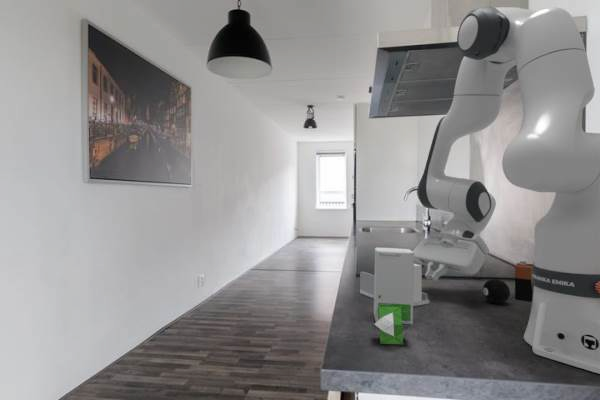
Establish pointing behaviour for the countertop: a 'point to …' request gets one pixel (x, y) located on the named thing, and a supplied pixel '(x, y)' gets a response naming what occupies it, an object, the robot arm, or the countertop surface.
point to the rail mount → (368, 288)
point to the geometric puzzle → (390, 325)
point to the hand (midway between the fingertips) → (430, 278)
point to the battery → (523, 281)
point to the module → (417, 283)
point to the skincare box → (394, 281)
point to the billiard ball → (496, 291)
